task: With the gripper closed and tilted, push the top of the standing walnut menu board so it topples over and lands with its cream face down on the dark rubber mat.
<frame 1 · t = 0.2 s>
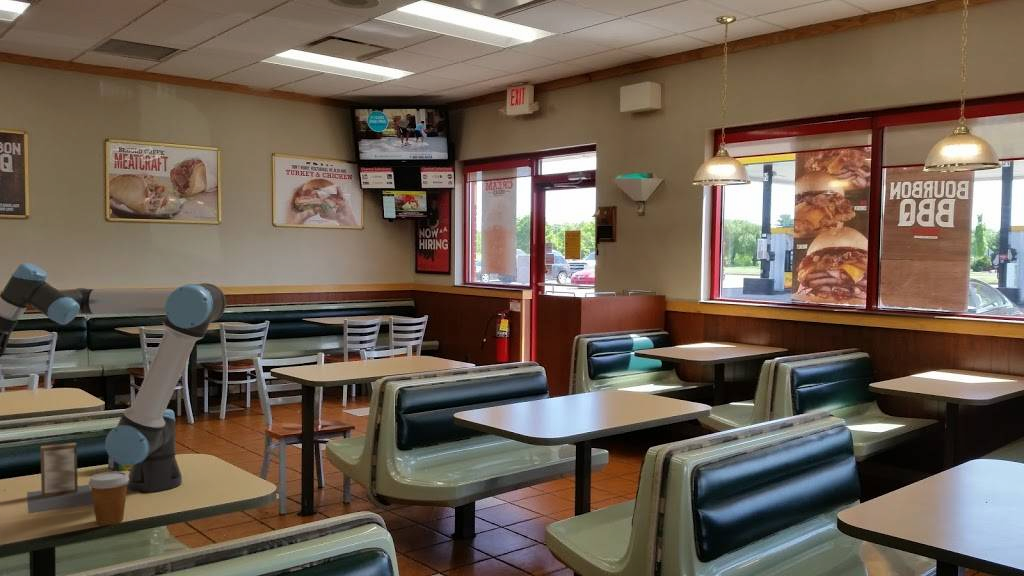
disposable coffee cup: (109, 522, 217), on the table
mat: (60, 499, 236), on the table
menu board: (59, 493, 240), resting on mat
chalk box: (127, 468, 270), on the table
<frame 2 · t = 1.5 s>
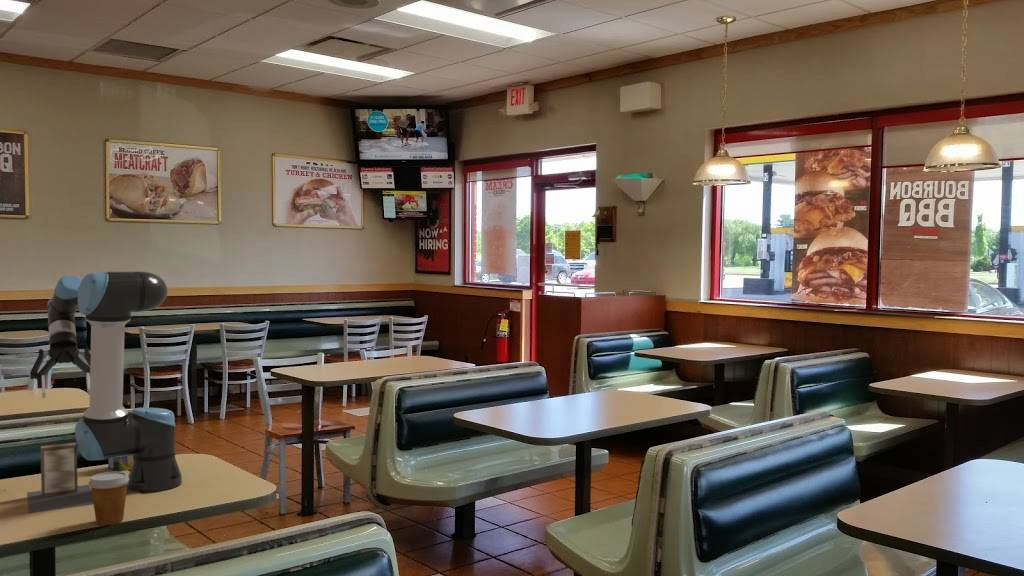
hand: (66, 393, 251), 27 cm above the table, tool tilted 45°, fingers open, 11 cm apart
nothing on the table moved.
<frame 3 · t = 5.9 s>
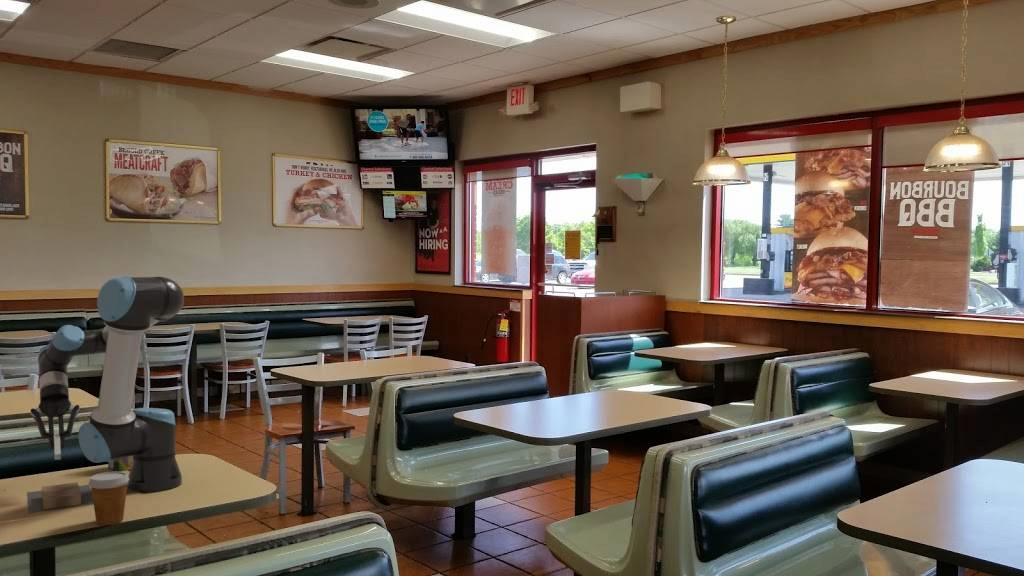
hand: (57, 456, 236), 12 cm above the table, tool tilted 45°, fingers closed
menu board: (59, 489, 239), point 2 cm above the table, tilted 90°, touching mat
everything else where it was.
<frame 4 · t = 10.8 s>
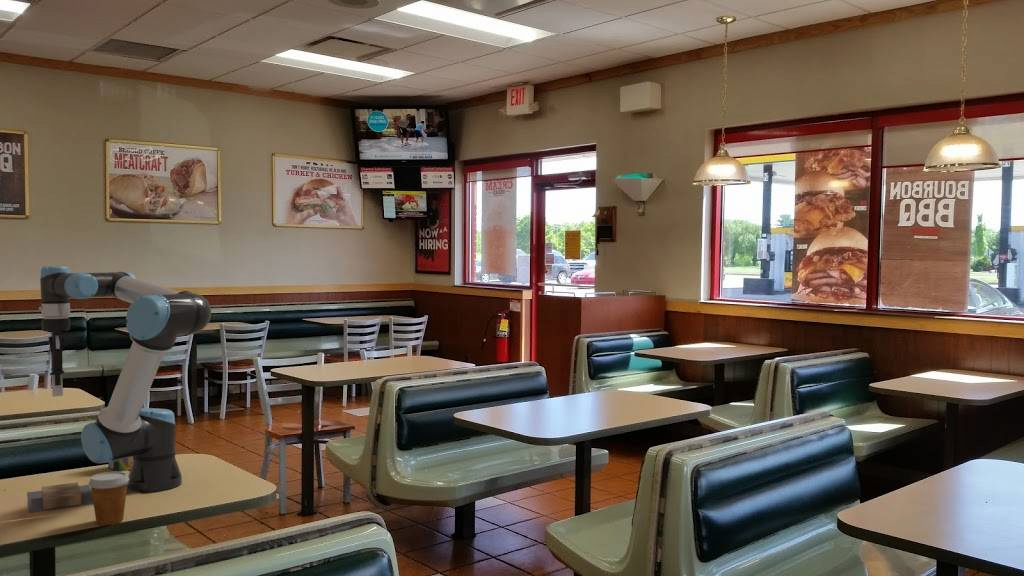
hand: (57, 395, 251), 27 cm above the table, tool pointing down, fingers closed
nothing on the table moved.
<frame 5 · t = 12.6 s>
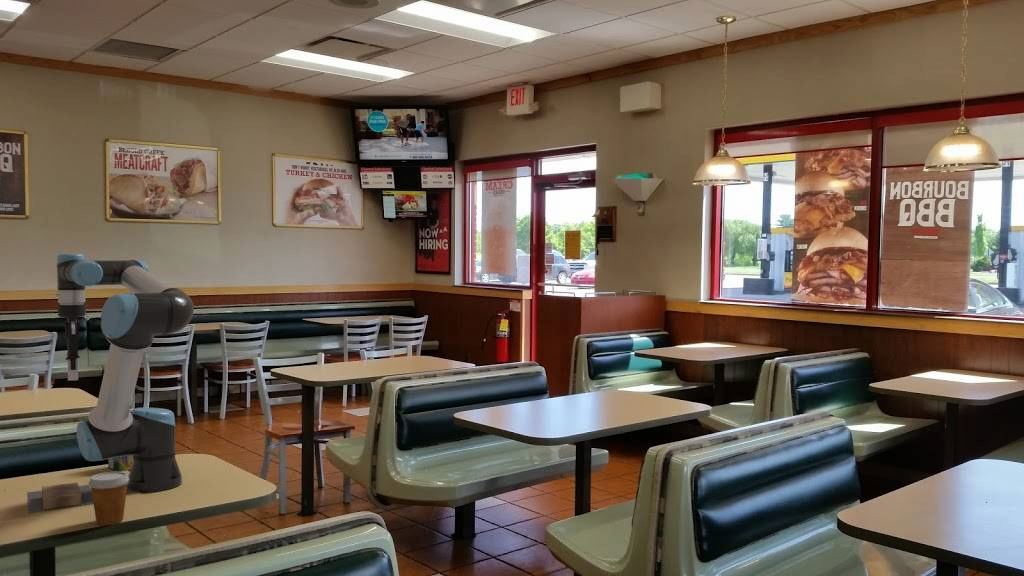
hand: (73, 379, 258), 30 cm above the table, tool pointing down, fingers closed
nothing on the table moved.
at the end: menu board tilted 90°; menu board inside the target area (2.6 cm from its centre), point 1.9 cm above the table; the gripper is holding nothing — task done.
